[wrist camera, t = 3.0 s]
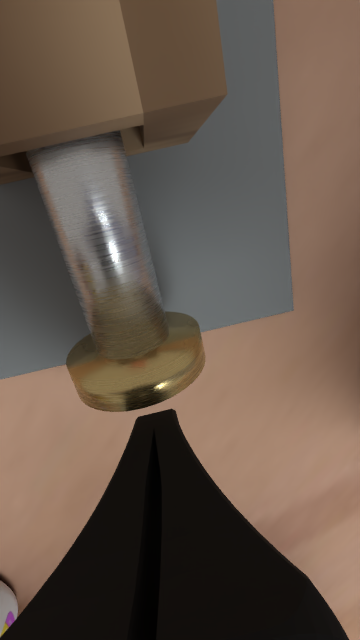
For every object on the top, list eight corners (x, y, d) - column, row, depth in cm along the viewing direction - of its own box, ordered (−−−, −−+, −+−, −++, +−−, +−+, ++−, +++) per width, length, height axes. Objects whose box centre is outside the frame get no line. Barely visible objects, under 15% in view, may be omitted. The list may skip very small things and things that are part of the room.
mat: (214, -727, 5) (219, -799, 5) (289, 307, 13) (293, 310, 12) (-509, -602, 5) (-562, -667, 5) (-1, 375, 12) (-5, 380, 12)
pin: (101, -124, 7) (52, -479, 3) (194, 327, 11) (218, 390, 8) (-74, -88, 7) (-322, -409, 3) (89, 352, 11) (63, 427, 8)
